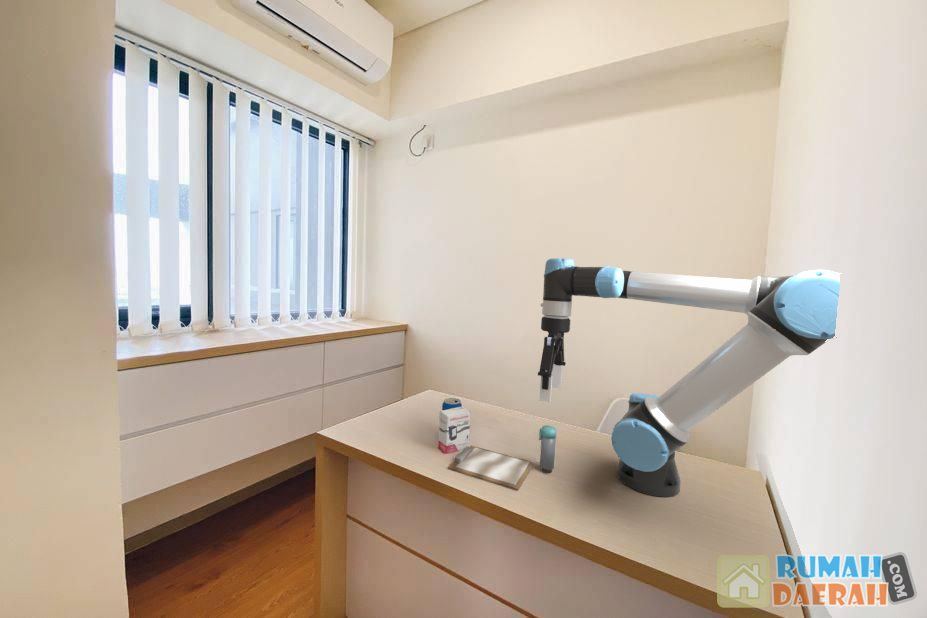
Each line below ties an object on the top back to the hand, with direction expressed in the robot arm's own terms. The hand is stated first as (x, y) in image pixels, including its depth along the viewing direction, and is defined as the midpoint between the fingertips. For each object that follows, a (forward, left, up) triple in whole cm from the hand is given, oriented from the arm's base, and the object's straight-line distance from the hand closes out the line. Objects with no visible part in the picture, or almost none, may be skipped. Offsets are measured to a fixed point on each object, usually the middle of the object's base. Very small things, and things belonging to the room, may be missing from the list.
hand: (550, 394), depth 96 cm
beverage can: (+33, -5, -22) cm, 40 cm away
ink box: (+28, +2, -22) cm, 36 cm away
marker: (0, 0, -22) cm, 22 cm away
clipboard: (+14, +6, -22) cm, 26 cm away
